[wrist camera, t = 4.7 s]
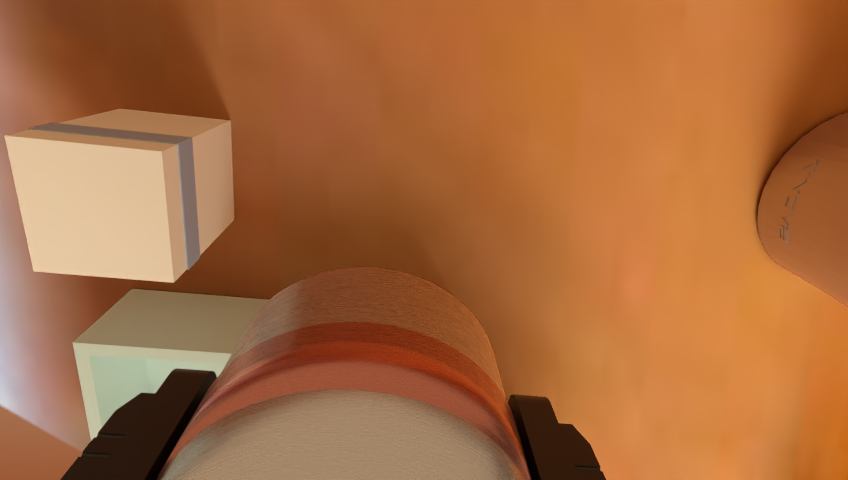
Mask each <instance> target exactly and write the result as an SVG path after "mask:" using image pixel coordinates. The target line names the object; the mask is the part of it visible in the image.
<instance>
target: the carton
mask: <svg viewBox="0 0 848 480" xmlns="http://www.w3.org/2000/svg"><path fill="white" fill-rule="evenodd" d="M5 140H6V145H7V149H8V154H9V159H10V163H11V168H12V173H13V177H14V182H15V187H16V191H17V196H18V201H19V205H20V210H21V215H22V219H23V224H24V229H25V233H26V238H27V243H28V247H29V252H30V257H31V261H32V266H33V271H35V272H47V273H59V274H72V275H84V276H96V277H109V278H121V279H133V280H146V281H158V282H170V283H174V282H175V281H176V280H177V279H178V278H179V277H180V276H181V275H182V274H183V273H184V272H185V271H186V270H189V269H190V268H191V267H192V266H193V265H194V264H195V263H196V262H197V261H198V260H199V259H200V255H201V254H202V253H203V252H204V251H205V250H206V249H207V248H208V247H209V246H210V245H211V243H212V242H213V241H214V240H215V239H216V238H217V237H218V236H219V235H220V234H221V233H222V232H223V231H224V230H225V229H226V228H227V227H228V226H229V225H230V224H231V223H232V222H233V221H234V193H233V166H232V139H231V120H222V119H213V118H203V117H194V116H185V115H176V114H166V113H157V112H148V111H138V110H129V109H116V110H112V111H108V112H104V113H99V114H95V115H91V116H86V117H82V118H78V119H73V120H69V121H65V122H61V123H48V124H44V125H39V126H35V127H31V128H29V130H26V131H22V132H18V133H13V134H9V135H5Z"/></svg>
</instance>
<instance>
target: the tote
mask: <svg viewBox="0 0 848 480" xmlns="http://www.w3.org/2000/svg"><path fill="white" fill-rule="evenodd" d="M268 301H269V300H268V299H256V298H243V297H231V296H218V295H206V294H193V293H180V292H168V291H155V290H143V289H131V290H130V291H129V292H128V293H127V294H126V295H125V296H123V297H122V298H121V299H120V300H119V301H118V302H117V303H116V304H115V305H113V306H112V307H111V308H110V309H109V310H108V311H107V312H106V313H105V314H104V315H102V316H101V317H100V318H99V319H98V320H97V321H96V322H95V323H94V324H92V325H91V326H90V327H89V328H88V329H87V330H86V331H85V332H84V333H83V334H81V335H80V336H79V337H78V338H77V339H76V340H75V341H74V342H73V348H74V353H75V358H76V363H77V369H78V374H79V379H80V384H81V389H82V395H83V400H84V405H85V410H86V415H87V421H88V426H89V431H90V436H91V441H92V439H93V438H94V437H97V435H98V432H99V431H100V429H101V428H102V427H103V426H104V424H105V423H106V422H107V421H108V419H109V418H110V417H111V416H112V414H113V413H114V412H115V411H116V410H117V409H118V408H120V407H121V406H123V405H124V404H126V403H127V402H129V401H130V400H131V399H133V398H134V397H136V396H137V395H139V394H140V393H156V392H157V390H158V389H159V388H160V386H161V385H162V383H163V382H164V381H165V379H166V378H167V377H168V375H169V374H170V373H171V371H173V370H174V369H176V368H179V369H192V370H206V371H214V372H215V373H216V376H217V377H218V376H219V375H220V374H221V372H222V370H223V368H224V367H225V365H226V363H227V361H228V360H229V358H230V356H231V354H232V353H233V351H234V349H235V347H236V346H237V344H238V342H239V340H240V339H241V337H242V335H243V333H244V332H245V330H246V328H247V327H248V325H249V323H250V322H251V320H252V318H253V317H254V316H255V315H256V313H257V312H258V311H259V310H260V309H261V307H262V306H263V305H264V304H266V303H267V302H268Z"/></svg>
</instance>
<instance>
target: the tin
mask: <svg viewBox="0 0 848 480" xmlns="http://www.w3.org/2000/svg"><path fill="white" fill-rule="evenodd" d="M157 480H532V479H531V475H530V472H529V468H528V465H527V461H526V458H525V454H524V450H523V447H522V443H521V440H520V436H519V433H518V429H517V425H516V422H515V419H514V417H513V414H512V411H511V408H510V406H509V404H508V402H507V399H506V396H505V392H504V388H503V385H502V381H501V377H500V374H499V370H498V366H497V363H496V359H495V355H494V352H493V349H492V346H491V343H490V341H489V338H488V336H487V334H486V333H485V331H484V329H483V327H482V325H481V324H480V323H479V321H478V320H477V319H476V317H475V316H474V315H473V313H472V312H471V311H470V310H469V309H468V308H467V307H466V306H465V305H464V304H463V303H462V302H461V301H459V300H458V299H457V298H455V297H454V296H453V295H452V294H450V293H449V292H448V291H446V290H444V289H442V288H441V287H439V286H437V285H435V284H434V283H432V282H430V281H427V280H425V279H422V278H420V277H418V276H415V275H412V274H408V273H405V272H401V271H397V270H391V269H385V268H378V267H351V268H340V269H335V270H330V271H325V272H321V273H318V274H315V275H312V276H309V277H306V278H304V279H302V280H300V281H298V282H296V283H294V284H292V285H290V286H288V287H286V288H285V289H283V290H282V291H280V292H279V293H277V294H276V295H275V296H273V297H272V298H271V299H270V300H269V301H268V302H267V303H266V304H264V305H263V306H262V307H261V309H260V310H259V311H258V312H257V313H256V315H255V316H254V317H253V318H252V320H251V322H250V323H249V325H248V327H247V328H246V330H245V332H244V333H243V335H242V337H241V339H240V340H239V342H238V344H237V346H236V347H235V349H234V351H233V353H232V354H231V356H230V358H229V360H228V361H227V363H226V365H225V367H224V368H223V370H222V372H221V374H220V375H219V376H218V377H217V378H216V380H215V381H214V382H213V383H212V384H211V386H210V388H209V389H208V391H207V393H206V394H205V396H204V398H203V399H202V401H201V403H200V405H199V406H198V408H197V410H196V411H195V413H194V415H193V417H192V418H191V420H190V422H189V423H188V425H187V427H186V429H185V430H184V432H183V434H182V436H181V437H180V439H179V441H178V442H177V444H176V446H175V448H174V449H173V451H172V453H171V454H170V456H169V458H168V460H167V461H166V463H165V465H164V467H163V468H162V470H161V472H160V473H159V475H158V477H157Z"/></svg>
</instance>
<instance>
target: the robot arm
mask: <svg viewBox="0 0 848 480" xmlns="http://www.w3.org/2000/svg"><path fill="white" fill-rule="evenodd" d="M757 225H758V231H759V237H760V240H761V242H762V244H763V246H764V249H765V251H766V252H767V253H768V255H769V256H770V257H771V258H772V259H773V260H774V261H775V262H776V263H777V264H779V265H780V266H782V267H783V268H785V269H787V270H788V271H790V272H792V273H793V274H795V275H797V276H798V277H800V278H802V279H803V280H805V281H807V282H808V283H810V284H812V285H813V286H815V287H817V288H818V289H820V290H822V291H823V292H825V293H827V294H828V295H830V296H832V297H833V298H835V299H837V300H838V301H839V302H841V303H843V304H844V305H846V306H848V112H847V113H844V114H840V115H838V116H836V117H834V118H832V119H830V120H828V121H826V122H824V123H822V124H820V125H818V126H817V127H816V128H814V129H813V130H811V131H810V132H809V133H807V134H806V135H804V136H803V137H802V138H800V139H799V140H798V141H797V142H796V143H795V144H794V145H793V146H792V147H791V148H790V149H789V150H788V151H787V152H786V153H785V155H784V156H783V157H782V159H781V160H780V161H779V163H778V164H777V165H776V167H775V168H774V170H773V171H772V173H771V175H770V177H769V179H768V181H767V183H766V185H765V187H764V189H763V192H762V196H761V199H760V203H759V206H758V220H757ZM216 378H217V376H216V373H215V372H214V371H206V370H192V369H179V368H176V369H174V370H173V371H171V373H170V374H169V375H168V377H167V378H166V379H165V381H164V382H163V383H162V385H161V386H160V388H159V389H158V390H157V392H156V393H140V394H139V395H137V396H136V397H134V398H133V399H131V400H130V401H129V402H127V403H126V404H124V405H123V406H121V407H120V408H118V409H117V410H116V411H115V412H114V413H113V414H112V416H111V417H110V418H109V419H108V421H107V422H106V423H105V424H104V426H103V427H102V428H101V429H100V431H99V432H98V435H97V437H94V438H93V439H92V441H91V442H90V443H89V444H88V446H87V447H86V448H85V449H84V451H83V454H82V456H81V457H78V458H77V460H76V461H75V462H74V463H73V465H72V466H71V467H70V468H69V470H68V471H67V472H66V473H65V475H64V476H63V477H62V478H61V480H157V477H158V475H159V473H160V472H161V470H162V468H163V467H164V465H165V463H166V461H167V460H168V458H169V456H170V454H171V453H172V451H173V449H174V448H175V446H176V444H177V442H178V441H179V439H180V437H181V436H182V434H183V432H184V430H185V429H186V427H187V425H188V423H189V422H190V420H191V418H192V417H193V415H194V413H195V411H196V410H197V408H198V406H199V405H200V403H201V401H202V399H203V398H204V396H205V394H206V393H207V391H208V389H209V388H210V386H211V384H212V383H213V382H214V381H215V380H216ZM508 404H509V406H510V408H511V411H512V414H513V417H514V419H515V422H516V425H517V429H518V433H519V436H520V440H521V443H522V447H523V450H524V454H525V458H526V461H527V465H528V468H529V472H530V475H531V479H532V480H606V478H605V476H604V474H603V472H602V471H600V465H599V463H598V461H597V458H596V456H595V454H594V452H593V450H592V447H591V445H590V444H589V443H588V441H587V440H586V439H585V438H584V437H583V436H582V435H581V434H580V433H579V432H578V431H577V430H576V428H575V427H574V426H573V425H572V424H559V423H558V421H557V418H556V416H555V413H554V411H553V408H552V406H551V403H550V401H549V400H548V398H546V397H538V396H524V395H511V396H510V398H509V401H508Z"/></svg>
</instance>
